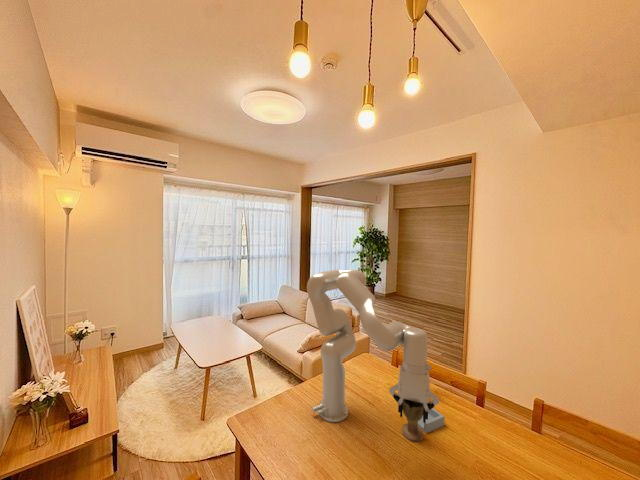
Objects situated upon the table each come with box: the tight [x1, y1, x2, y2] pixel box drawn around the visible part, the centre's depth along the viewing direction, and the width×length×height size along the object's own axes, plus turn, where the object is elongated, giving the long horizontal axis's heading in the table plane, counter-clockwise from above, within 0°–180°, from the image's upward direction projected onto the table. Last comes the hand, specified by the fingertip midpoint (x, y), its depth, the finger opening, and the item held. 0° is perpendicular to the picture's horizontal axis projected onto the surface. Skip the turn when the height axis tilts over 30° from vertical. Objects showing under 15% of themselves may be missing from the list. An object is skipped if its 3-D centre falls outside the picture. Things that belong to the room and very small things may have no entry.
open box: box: [418, 407, 446, 434], centre depth 106 cm, size 10×12×4 cm
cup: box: [402, 399, 424, 425], centre depth 87 cm, size 8×7×8 cm
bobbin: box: [401, 422, 424, 443], centre depth 98 cm, size 8×8×12 cm
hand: (412, 416), depth 87 cm, fingers closed on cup, 6 cm apart
